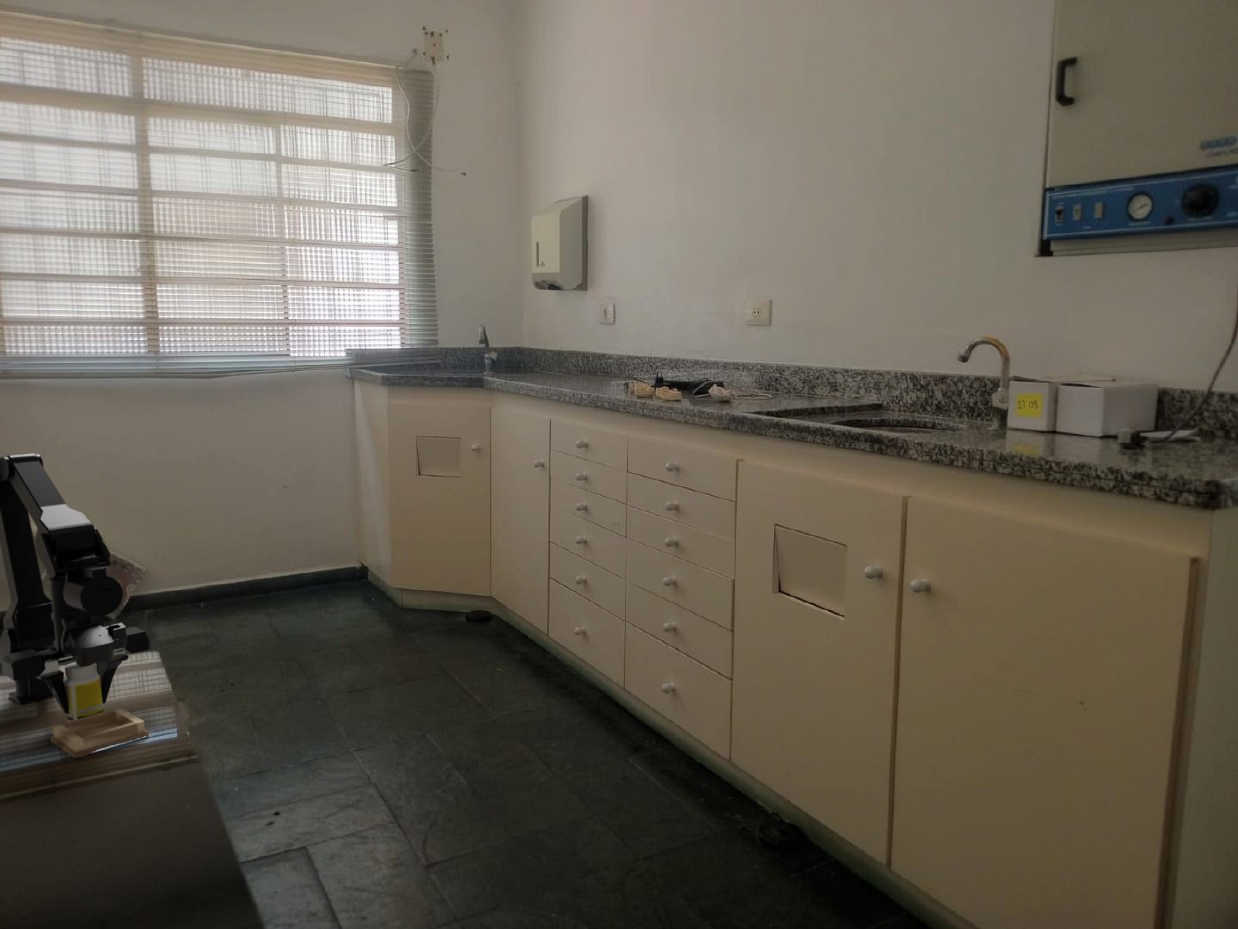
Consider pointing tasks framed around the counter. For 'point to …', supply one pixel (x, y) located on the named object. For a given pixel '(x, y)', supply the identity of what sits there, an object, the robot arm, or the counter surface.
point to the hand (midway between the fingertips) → (84, 708)
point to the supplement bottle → (82, 691)
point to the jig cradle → (97, 732)
